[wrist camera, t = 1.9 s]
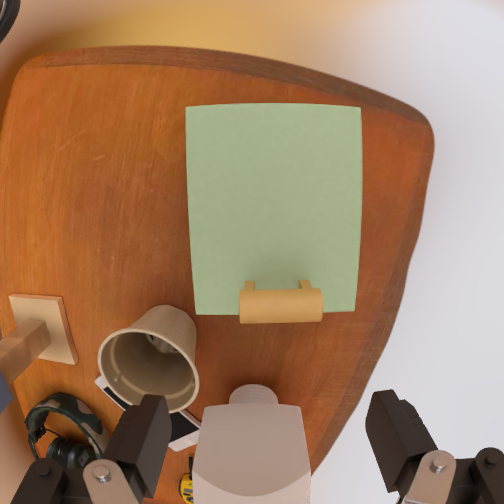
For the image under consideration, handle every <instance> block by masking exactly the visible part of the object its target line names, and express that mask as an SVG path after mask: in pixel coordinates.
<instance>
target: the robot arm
mask: <svg viewBox="0 0 504 504" xmlns="http://www.w3.org/2000/svg"><path fill="white" fill-rule="evenodd" d="M7 5H8V0H0V23H1V21H2V19H3V17H4V15H5V13H6V10H7ZM365 427H366V432H367V436H368V438H369V441H370V444H371V446H372V449H373V452H374V455H375V457H376V460H377V463H378V466H379V468H380V471H381V474H382V477H383V480H384V482H385V485H386V488H387V491H388V493H390V492H394V491H398V492H399V495H400V496H399V498H398V500H397V502H396V504H504V454H503V452H502V451H500V450H498V449H496V448H484V449H482V450H481V451H480V452H479V453H478V454H477V455H476V457H475V458H468V459H454V457H453V456H452V455H451V454H450V453H448V452H446V451H442V450H438V448H437V446H436V445H435V443H434V441H433V439H432V437H431V436H430V434H429V432H428V430H427V428H426V427H425V425H424V424H423V422H422V420H421V418H420V417H419V415H418V413H417V411H416V409H415V408H414V406H412V405H411V404H410V403H408V402H407V401H406V400H405V399H404V400H399V399H398V397H397V395H396V393H395V392H394V390H391V389H390V390H384V391H377V392H374V393H373V395H372V398H371V402H370V406H369V410H368V413H367V417H366V422H365ZM171 433H172V424H171V419H170V415H169V410H168V406H167V402H166V398H165V396H164V395H154V394H145V395H144V396H143V398H142V401H141V403H140V405H133V404H132V405H131V406H130V407H129V408H128V409H127V410H125V411H124V412H123V414H122V416H121V418H120V420H119V423H118V424H117V426H116V428H115V431H114V432H113V434H112V436H111V439H110V441H109V443H108V445H107V447H106V449H105V451H104V453H103V455H102V457H101V459H98V460H95V461H92V462H90V463H89V464H88V465H87V466H86V467H85V468H81V469H76V468H62V467H61V466H60V464H59V463H58V462H57V461H55V460H54V459H51V458H41V459H38V460H36V461H35V462H33V463H32V464H31V466H30V467H29V469H28V471H27V473H26V475H25V476H24V478H23V480H22V482H21V484H20V486H19V488H18V490H17V492H16V493H15V495H14V497H13V500H12V502H11V503H10V504H142V501H143V498H144V497H145V498H151V499H153V497H154V494H155V490H156V486H157V483H158V479H159V476H160V472H161V469H162V465H163V462H164V458H165V455H166V452H167V448H168V445H169V441H170V438H171Z"/></svg>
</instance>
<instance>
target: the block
mask: <svg viewBox="0 0 504 504" xmlns="http://www.w3.org/2000/svg"><path fill="white" fill-rule="evenodd" d="M13 399H14V398H13V396H12V394H11V392H10V390H9V388H8V385H7V383H6V381H5V379H4V376H3V374H2V372H1V369H0V413H1V412H2V411H3V410H4V409H5V408H6V407H7V405H8V404H9V403H10V402H11V401H12V400H13Z"/></svg>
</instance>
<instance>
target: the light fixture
mask: <svg viewBox="0 0 504 504" xmlns="http://www.w3.org/2000/svg"><path fill="white" fill-rule="evenodd" d="M310 481H311V469H310V463H309V457H308V451H307V444H306V438H305V432H304V426H303V420H302V414H301V408H300V407H299V406H293V405H284V404H278V399H277V396H276V395H275V394H274V392H273V391H272V390H271V389H269V388H268V387H266V386H263V385H259V384H248V385H244V386H241V387H239V388H237V389H236V390H234V391H233V392H232V394H231V395H230V398H229V404H224V405H215V406H208V407H205V408H204V413H203V418H202V423H201V428H200V433H199V438H198V443H197V448H196V453H195V458H194V463H193V468H192V486H193V501H194V504H310Z"/></svg>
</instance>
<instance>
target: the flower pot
mask: <svg viewBox="0 0 504 504" xmlns="http://www.w3.org/2000/svg"><path fill="white" fill-rule="evenodd" d="M149 334H150V335H153V337H154V340H153V339H152V338H151V336H150V335H149ZM196 339H197V330H196V326H195V324H194V322H193V320H192V319H191V317H190V316H189V315H188V314H187V313H186V312H185V311H183V310H180V309H178V308H175V307H173V306H171V305H158V306H155V307H153V308H151V309H150V310H148V311H147V312H146V313H145V314H144V315H143V316H142V317H140V318H139V319H138V320H137V321H136V322H134V323H133V324H132V325H131V326H130V327H127V328H123V329H120V330H117V331H115V332H113V333H112V334H110V335H109V336H108V337H107V338H106V339H105V340H104V341H103V342H102V344H101V346H100V348H99V352H98V366H99V370H100V373H101V375H102V377H103V379H104V381H105V383H106V384H107V386H108V387H109V388H110V389H111V390H112V391H113V392H114V393H115V394H116V395H117V396H118V397H119V398H120V399H122V400H123V401H125V402H126V403H127V404H129V405H132V404H133V405H140V403H141V401H142V398H143V396H144V395H145V394H154V395H164V396H165V398H166V402H167V406H168V410H169V413H174V412H178V411H181V410H183V409H185V408H186V407H188V406H189V405H190V404H191V403H192V402H193V401H194V400H195V398H196V396H197V394H198V391H199V375H198V371H197V368H196V366H195V363H194V362H195V349H196ZM174 347H175V348H176V349H177V350H175V349H174Z"/></svg>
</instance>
